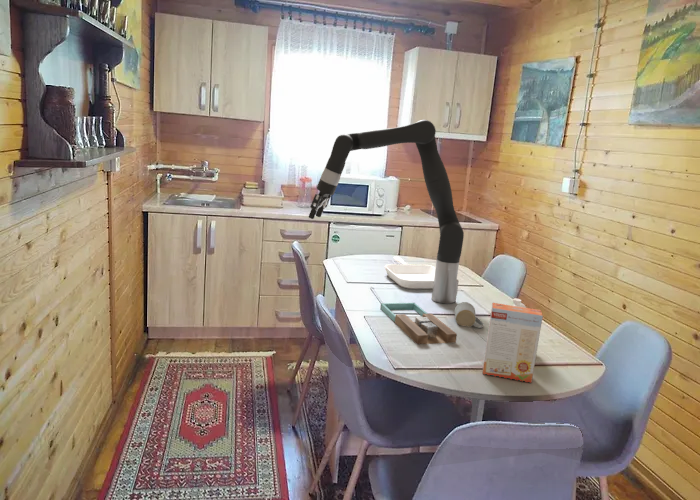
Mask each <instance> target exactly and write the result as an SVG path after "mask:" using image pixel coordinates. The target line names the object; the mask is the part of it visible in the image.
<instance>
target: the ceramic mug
mask: <svg viewBox="0 0 700 500" xmlns="http://www.w3.org/2000/svg"><path fill="white" fill-rule="evenodd" d="M454 318H455V322H456V324H457V325H459V326H463V327H469V328H470V327H472V326H473V327H475V328H478V329H482V328H483V326H484V323H483V321H482V320H481V319H480V318H478V317H477V315H476V309H475V307H474V305H472V304H471V303H470V302H467V301H462V302H459V303H458V304H457V305H456V306H455V308H454Z"/></svg>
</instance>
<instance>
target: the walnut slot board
mask: <svg viewBox="0 0 700 500" xmlns="http://www.w3.org/2000/svg"><path fill="white" fill-rule="evenodd" d="M395 315H396V317H395V322H394V323H395V324H396V326H398V328H400V330H402V331H403V332H404V333H405V334H406V335H407V336H408V337H409V338H410V339H411V340H412V341H413V342H414V343H415V344H417V345H429V344H430V345H431V344H432V345H433V344H435V345H436V344H453V343H456V341H457V337H458V336H457V335H458V333H456V332H455V331H454V330H453V329H451V328H450V327H449V326H448V325H447V324H445V323H444V322H442V320H441V319H439V318H438V317H436V316H435V315H434V314H433V313H428V314H423V315H422V316H421V317H427V318H428V319H429V320H430V321H431V323H433V324H434V325H436V326H438V330H437V337H436V338H431V339H428V335H427V334H426V333H425V332H424V331H423V330H422V329H421V328H420V327H418V326H417V325H416V324H415V321H413V320H412V319H411V318H410V317H409V316H407V315H406V314H405V313H403V314H402V313H401V314H397V313H396V314H395Z"/></svg>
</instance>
